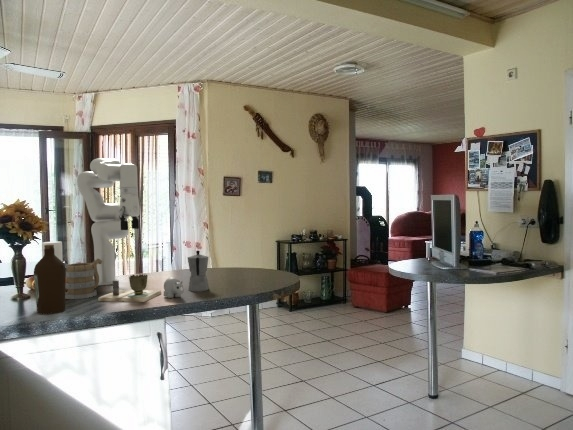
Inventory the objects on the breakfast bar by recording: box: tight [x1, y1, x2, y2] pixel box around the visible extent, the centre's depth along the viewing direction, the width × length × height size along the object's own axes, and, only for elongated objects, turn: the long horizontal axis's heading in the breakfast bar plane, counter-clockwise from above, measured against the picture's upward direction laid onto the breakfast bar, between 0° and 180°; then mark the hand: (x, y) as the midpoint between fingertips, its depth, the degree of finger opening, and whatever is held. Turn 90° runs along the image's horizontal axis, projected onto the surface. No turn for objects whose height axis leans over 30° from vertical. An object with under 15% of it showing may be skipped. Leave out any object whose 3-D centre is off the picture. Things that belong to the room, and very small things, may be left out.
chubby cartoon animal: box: [163, 276, 185, 299], centre depth 186 cm, size 7×12×8 cm, turn 40°
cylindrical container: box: [41, 241, 64, 263], centre depth 178 cm, size 7×7×25 cm
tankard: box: [65, 259, 102, 300], centre depth 197 cm, size 20×13×15 cm, turn 160°
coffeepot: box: [186, 250, 210, 293], centre depth 202 cm, size 15×9×18 cm, turn 10°
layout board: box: [97, 279, 162, 303], centre depth 189 cm, size 20×16×8 cm
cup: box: [128, 273, 149, 295], centre depth 186 cm, size 8×7×8 cm
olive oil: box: [33, 245, 67, 315], centre depth 166 cm, size 11×11×25 cm
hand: (130, 229), depth 202 cm, fingers open, 9 cm apart
